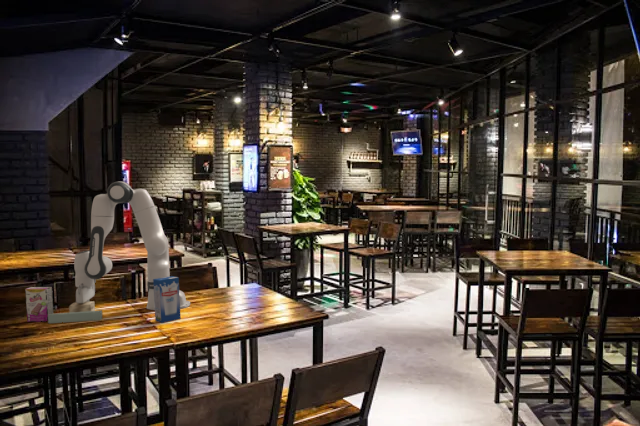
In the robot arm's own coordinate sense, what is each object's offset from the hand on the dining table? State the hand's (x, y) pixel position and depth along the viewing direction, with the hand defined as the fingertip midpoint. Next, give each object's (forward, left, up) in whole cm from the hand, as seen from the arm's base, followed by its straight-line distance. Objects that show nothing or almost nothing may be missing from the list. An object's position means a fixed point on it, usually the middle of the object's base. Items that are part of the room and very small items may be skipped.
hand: (86, 308), depth 279 cm
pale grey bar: (0, +18, -2) cm, 18 cm away
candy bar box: (+18, +13, -2) cm, 22 cm away
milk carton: (-45, +29, -2) cm, 53 cm away
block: (0, +7, -2) cm, 7 cm away
